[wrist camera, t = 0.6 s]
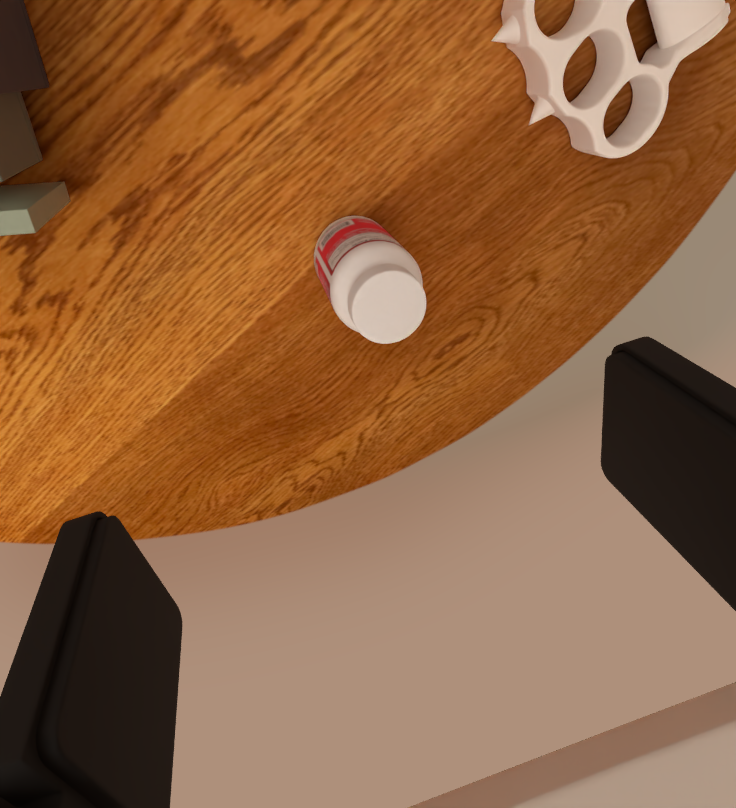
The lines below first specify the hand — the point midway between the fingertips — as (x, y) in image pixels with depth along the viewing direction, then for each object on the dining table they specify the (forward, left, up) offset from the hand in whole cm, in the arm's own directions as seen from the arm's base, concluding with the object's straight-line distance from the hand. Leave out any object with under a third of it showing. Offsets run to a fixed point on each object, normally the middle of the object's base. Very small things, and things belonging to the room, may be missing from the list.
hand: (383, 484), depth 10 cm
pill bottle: (+6, +6, -33) cm, 34 cm away
